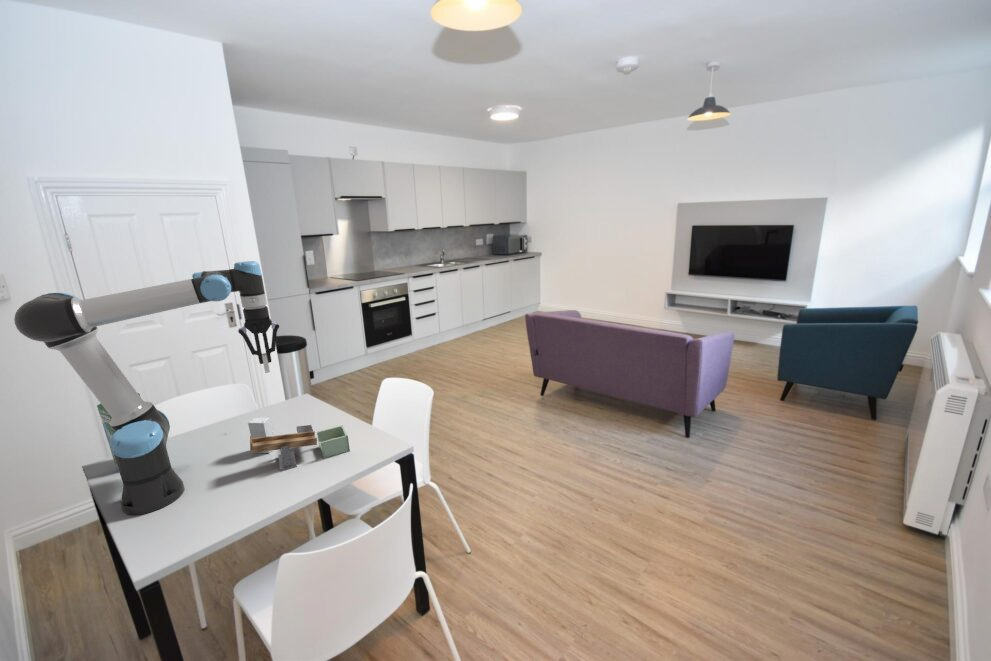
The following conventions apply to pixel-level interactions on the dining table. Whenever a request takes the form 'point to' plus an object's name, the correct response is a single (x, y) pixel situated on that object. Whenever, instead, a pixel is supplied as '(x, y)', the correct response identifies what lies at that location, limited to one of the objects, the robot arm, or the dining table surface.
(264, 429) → the skincare box
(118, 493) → the dining table surface
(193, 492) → the dining table surface
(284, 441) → the lever
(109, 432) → the milk carton
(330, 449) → the bin
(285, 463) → the fulcrum
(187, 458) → the dining table surface
